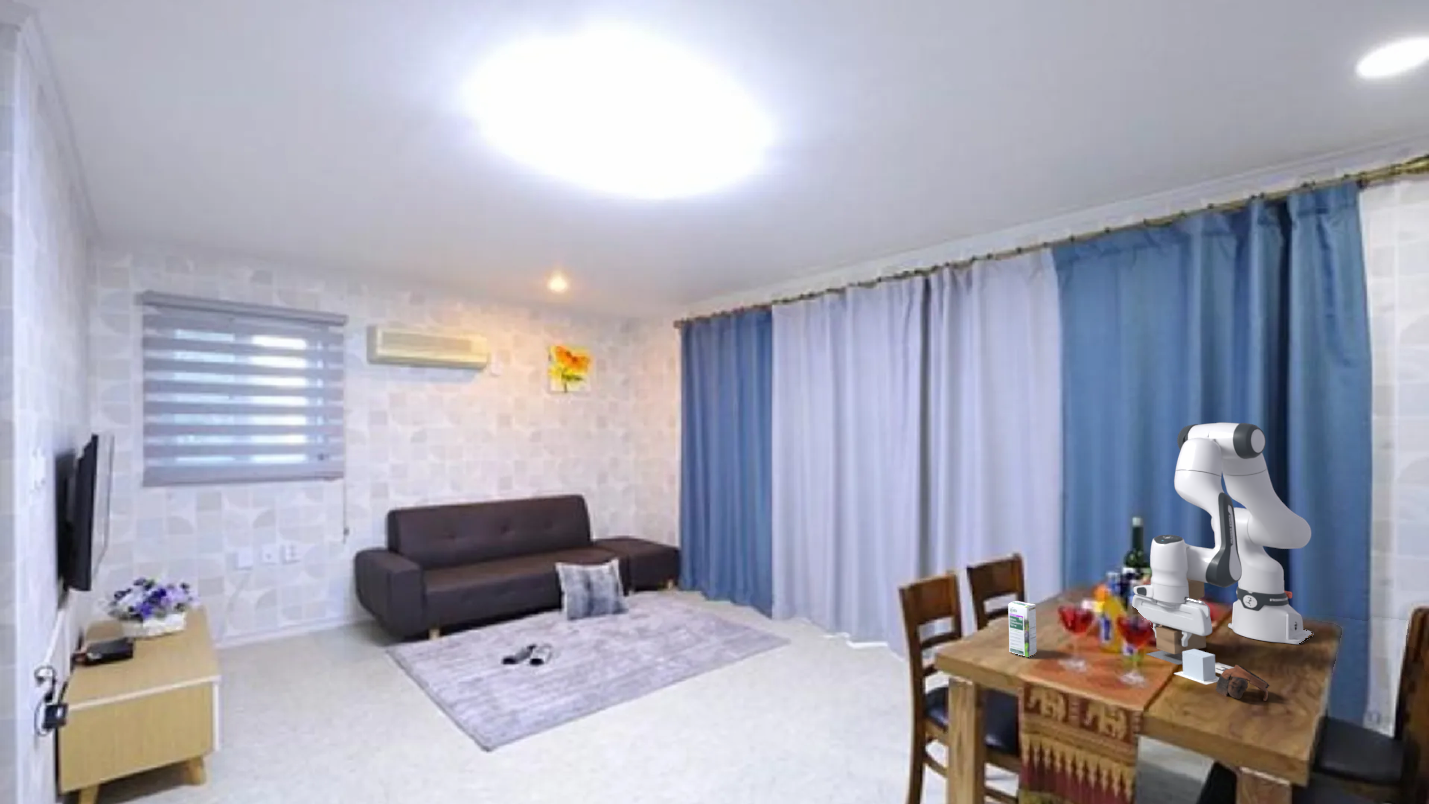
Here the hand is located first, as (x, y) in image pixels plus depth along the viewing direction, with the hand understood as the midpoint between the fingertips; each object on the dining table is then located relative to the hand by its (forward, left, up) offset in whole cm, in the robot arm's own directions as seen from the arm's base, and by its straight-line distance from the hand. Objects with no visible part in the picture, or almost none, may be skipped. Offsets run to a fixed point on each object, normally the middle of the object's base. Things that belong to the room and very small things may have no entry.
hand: (1171, 642), depth 185 cm
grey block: (+8, +12, -4) cm, 15 cm away
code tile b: (+8, +12, -4) cm, 15 cm away
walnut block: (0, 0, -2) cm, 2 cm away
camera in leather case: (+11, +23, -5) cm, 27 cm away
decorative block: (-12, -4, -5) cm, 14 cm away
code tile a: (-3, +12, -4) cm, 13 cm away
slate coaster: (0, 0, -4) cm, 5 cm away
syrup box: (+35, -20, -5) cm, 41 cm away
